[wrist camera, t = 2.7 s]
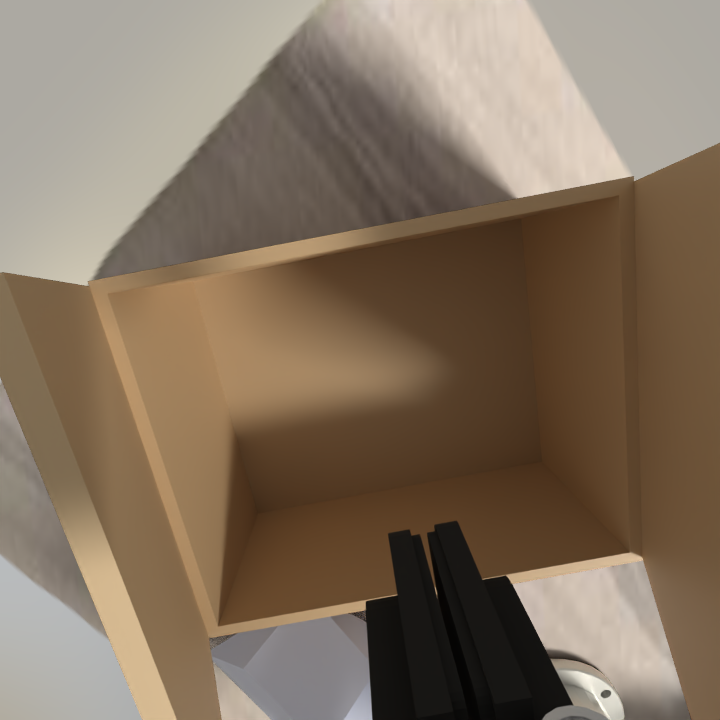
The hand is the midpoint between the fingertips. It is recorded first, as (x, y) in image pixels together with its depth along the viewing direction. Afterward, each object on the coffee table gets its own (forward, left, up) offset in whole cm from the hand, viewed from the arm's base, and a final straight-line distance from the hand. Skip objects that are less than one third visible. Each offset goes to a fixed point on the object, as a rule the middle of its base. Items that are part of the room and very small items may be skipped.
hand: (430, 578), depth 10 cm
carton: (0, 0, -19) cm, 19 cm away
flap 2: (0, -9, -4) cm, 10 cm away
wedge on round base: (-21, +9, -19) cm, 30 cm away
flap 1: (0, +9, -4) cm, 10 cm away
